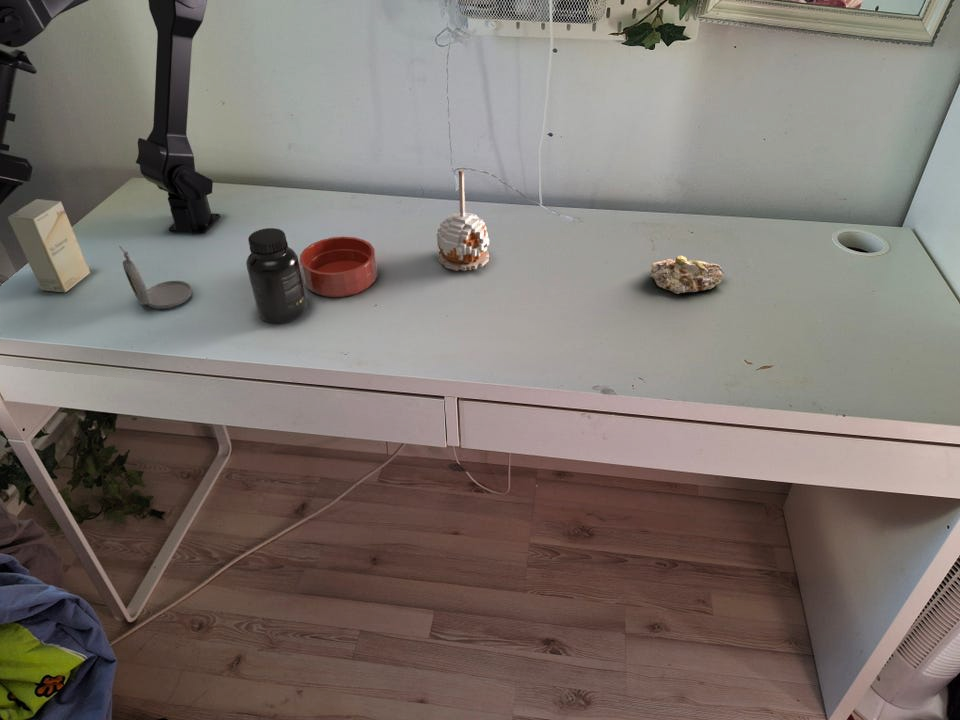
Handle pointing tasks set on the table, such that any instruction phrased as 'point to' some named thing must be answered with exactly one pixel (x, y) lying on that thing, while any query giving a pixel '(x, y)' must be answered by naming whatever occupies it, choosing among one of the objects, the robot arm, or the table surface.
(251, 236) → the supplement bottle
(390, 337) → the table surface
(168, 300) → the pocket watch
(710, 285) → the mineral rock
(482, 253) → the caramel apple
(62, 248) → the cosmetic box
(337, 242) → the bowl
